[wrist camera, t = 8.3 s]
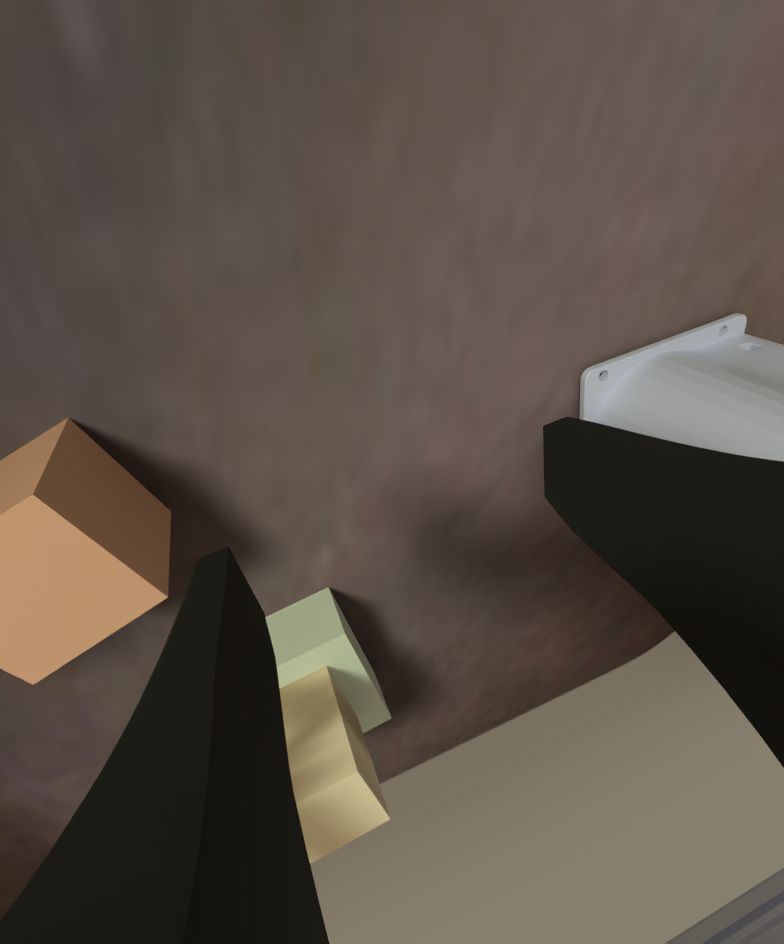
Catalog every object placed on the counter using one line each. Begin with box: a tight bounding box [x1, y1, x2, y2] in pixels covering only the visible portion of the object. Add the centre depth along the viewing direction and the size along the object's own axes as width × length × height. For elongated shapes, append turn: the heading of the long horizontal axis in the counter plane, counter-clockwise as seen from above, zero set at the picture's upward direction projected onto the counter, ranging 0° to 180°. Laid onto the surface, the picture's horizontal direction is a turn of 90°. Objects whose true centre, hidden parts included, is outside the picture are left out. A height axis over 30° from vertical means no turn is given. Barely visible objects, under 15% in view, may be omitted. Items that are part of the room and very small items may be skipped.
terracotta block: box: [0, 418, 171, 685], centre depth 16 cm, size 5×5×5 cm
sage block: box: [265, 587, 391, 733], centre depth 25 cm, size 8×8×4 cm
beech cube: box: [280, 666, 390, 863], centre depth 22 cm, size 5×5×5 cm
